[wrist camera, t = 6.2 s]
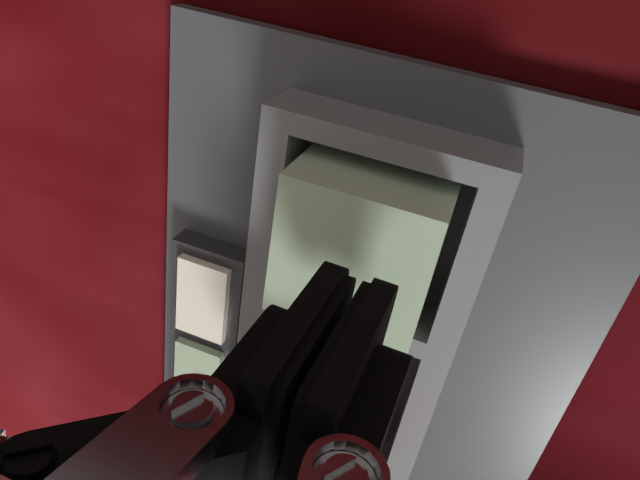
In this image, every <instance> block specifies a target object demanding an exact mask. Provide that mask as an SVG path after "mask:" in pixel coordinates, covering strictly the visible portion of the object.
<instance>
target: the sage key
mask: <svg viewBox="0 0 640 480" xmlns="http://www.w3.org/2000/svg"><path fill="white" fill-rule="evenodd" d="M461 185H462V183H458V182H454V181H451V180H447V179H444V178H440V177H437V176H433V175H429V174H426V173H422V172H419V171H415V170H411V169H408V168H404V167H401V166H397V165H394V164H390V163H386V162H383V161H379V160H376V159H372V158H368V157H365V156H361V155H358V154H354V153H351V152H347V151H343V150H340V149H336V148H333V147H329V146H325V145H322V144H318V143H314V144H312V145H311V146H310V147H309V148H308V149H307V150H306V151H304V152H303V153H302V154H301V155H300V156H299V157H298V158H296V159H295V160H294V161H293V162H292V163H291V164H290V165H288V166H287V167H286V168H285V169H284V170H283V171H282V172H281V173H279V179H278V187H277V195H276V203H275V210H274V218H273V226H272V234H271V241H270V249H269V257H268V265H267V272H266V280H265V288H264V296H263V303H262V309H263V310H265V309H266V308H267V307H268V306H269V305H272V304H274V305H277V306H279V307H282V308H285V309H287V310H288V308H289V307H290V306H291V305H292V303H293V302H294V301H295V299H296V298H297V297H298V295H299V294H300V293H301V291H302V290H303V289H304V287H305V286H306V285H307V283H308V282H309V281H310V279H311V278H312V277H313V275H314V274H315V273H316V271H317V270H318V269H319V267H320V266H321V265H322V263H323V262H324V261H328V262H331V263H334V264H337V265H340V266H343V267H346V268H348V269H349V276H351V277H354V278H356V284H355V289H354V293H353V296H354V294H355V293H356V291H357V289H358V288H359V286H360V284H361V283H362V281H366V282H369V283H371V282H372V280H373V279H374V278H378V279H381V280H384V281H387V282H390V283H392V284H395V285H398V286H399V288H398V292H397V296H396V300H395V303H394V307H393V310H392V314H391V317H390V321H389V324H388V328H387V332H386V335H385V339H384V342H383V345H385V346H388V347H390V348H393V349H396V350H398V351H401V352H404V353H406V354H408V352H409V349H410V346H411V343H412V340H413V336H414V333H415V330H416V327H417V324H418V321H419V318H420V315H421V312H422V309H423V306H424V302H425V299H426V296H427V293H428V290H429V287H430V283H431V280H432V277H433V274H434V271H435V268H436V264H437V261H438V258H439V255H440V252H441V249H442V245H443V242H444V239H445V236H446V233H447V229H448V226H449V223H450V220H451V217H452V214H453V210H454V207H455V204H456V201H457V198H458V195H459V191H460V188H461ZM352 298H353V297H352Z"/></svg>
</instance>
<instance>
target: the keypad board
mask: <svg viewBox="0 0 640 480" xmlns="http://www.w3.org/2000/svg"><path fill="white" fill-rule="evenodd" d="M314 143H318V144H322V145H325V146H329V147H333V148H336V149H340V150H343V151H347V152H351V153H354V154H358V155H361V156H365V157H368V158H372V159H376V160H379V161H383V162H386V163H390V164H394V165H397V166H401V167H404V168H408V169H411V170H415V171H419V172H422V173H426V174H429V175H433V176H437V177H440V178H444V179H447V180H451V181H454V182H458V183H462V185H461V188H460V191H459V195H458V198H457V201H456V204H455V207H454V210H453V214H452V217H451V220H450V223H449V226H448V229H447V233H446V236H445V239H444V242H443V245H442V249H441V252H440V255H439V258H438V261H437V264H436V268H435V271H434V274H433V277H432V280H431V283H430V287H429V290H428V293H427V296H426V299H425V302H424V306H423V309H422V312H421V315H420V318H419V321H418V324H417V327H416V330H415V333H414V336H413V340H412V343H411V346H410V349H409V352H408V354H409V355H412V356H413V358H412V361H411V364H410V367H409V370H408V373H407V377H406V380H405V383H404V386H403V389H402V392H401V395H400V398H399V401H398V404H397V407H396V410H395V413H394V416H393V418H392V421H391V424H390V427H389V430H388V433H387V436H386V438H385V441H384V444H383V447H382V450H381V454H382V455H383V456H384V458H385V459H386V462H387V464H388V467H389V469H390V477H391V480H528V478H529V476H530V474H531V473H532V471H533V469H534V467H535V465H536V463H537V462H538V460H539V458H540V456H541V454H542V452H543V451H544V449H545V447H546V445H547V443H548V441H549V440H550V438H551V436H552V434H553V432H554V430H555V429H556V427H557V425H558V423H559V421H560V419H561V418H562V416H563V414H564V412H565V410H566V408H567V407H568V405H569V403H570V401H571V399H572V397H573V396H574V394H575V392H576V390H577V388H578V386H579V385H580V383H581V381H582V379H583V377H584V375H585V374H586V372H587V370H588V368H589V366H590V364H591V363H592V361H593V359H594V357H595V355H596V353H597V352H598V350H599V348H600V346H601V344H602V342H603V341H604V339H605V337H606V335H607V333H608V331H609V330H610V328H611V326H612V324H613V322H614V320H615V319H616V317H617V315H618V313H619V311H620V309H621V308H622V306H623V304H624V302H625V300H626V298H627V297H628V295H629V293H630V291H631V289H632V287H633V286H634V284H635V282H636V280H637V278H638V276H639V275H640V111H638V110H634V109H630V108H625V107H621V106H617V105H613V104H608V103H604V102H600V101H596V100H591V99H587V98H583V97H579V96H574V95H570V94H566V93H562V92H557V91H553V90H549V89H545V88H540V87H536V86H532V85H528V84H523V83H519V82H515V81H511V80H506V79H502V78H498V77H494V76H489V75H485V74H481V73H477V72H472V71H468V70H464V69H460V68H455V67H451V66H447V65H443V64H438V63H434V62H430V61H426V60H421V59H417V58H413V57H409V56H404V55H400V54H396V53H392V52H387V51H383V50H379V49H375V48H370V47H366V46H362V45H358V44H353V43H349V42H345V41H341V40H336V39H332V38H328V37H324V36H319V35H315V34H311V33H307V32H302V31H298V30H294V29H290V28H285V27H281V26H277V25H273V24H268V23H264V22H260V21H256V20H251V19H247V18H243V17H239V16H234V15H230V14H226V13H222V12H217V11H213V10H209V9H205V8H200V7H196V6H192V5H188V4H183V3H181V4H175V5H171V19H170V77H169V135H168V193H167V251H166V309H165V367H164V382H165V381H167V380H168V379H170V378H172V377H175V376H178V375H182V374H190V373H199V374H205V375H210V376H211V375H212V374H213V373H214V372H215V370H216V369H217V368H218V367H219V365H220V364H221V363H222V362H223V361H224V359H225V358H226V357H227V356H228V354H229V353H230V352H231V351H232V350H233V348H234V347H235V346H236V345H237V344H238V342H239V341H240V340H241V339H242V337H243V336H244V335H245V334H246V333H247V331H248V330H249V329H250V328H251V326H252V325H253V324H254V323H255V322H256V320H257V319H258V318H259V317H260V315H261V314H262V313H263V312H264V311H265V310H263V309H262V303H263V296H264V288H265V280H266V272H267V265H268V257H269V249H270V241H271V234H272V226H273V218H274V210H275V203H276V195H277V187H278V179H279V173H281V172H282V171H283V170H284V169H285V168H286V167H287V166H288V165H290V164H291V163H292V162H293V161H294V160H295V159H296V158H298V157H299V156H300V155H301V154H302V153H303V152H304V151H306V150H307V149H308V148H309V147H310V146H311V145H312V144H314Z"/></svg>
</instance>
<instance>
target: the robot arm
mask: <svg viewBox="0 0 640 480" xmlns="http://www.w3.org/2000/svg"><path fill="white" fill-rule="evenodd" d="M355 284H356V278H354V277H351V276H349V269H348V268H346V267H343V266H340V265H337V264H334V263H331V262H328V261H324V262H323V263H322V265H321V266H320V267H319V269H318V270H317V271H316V273H315V274H314V275H313V277H312V278H311V279H310V281H309V282H308V283H307V285H306V286H305V287H304V289H303V290H302V291H301V293H300V294H299V295H298V297H297V298H296V299H295V301H294V302H293V303H292V305H291V306H290V307H289V308H288V310H287V309H285V308H282V307H279V306H277V305H274V304H272V305H269V306H268V307H267V308H266V309H265V311H264V312H263V313H262V314H261V315H260V317H259V318H258V319H257V320H256V322H255V323H254V324H253V325H252V326H251V328H250V329H249V330H248V331H247V333H246V334H245V335H244V336H243V337H242V339H241V340H240V341H239V342H238V344H237V345H236V346H235V347H234V348H233V350H232V351H231V352H230V353H229V354H228V356H227V357H226V358H225V359H224V361H223V362H222V363H221V364H220V365H219V367H218V368H217V369H216V370H215V372H214V373H213V374H212V375H211V376H210V375H205V374H199V373H190V374H182V375H178V376H175V377H172V378H170V379H168V380H167V381H165V382H163V383H162V384H160V385H159V386H158V387H156V388H155V389H154V390H153V391H152V392H150V393H149V394H148V395H147V396H145V397H144V398H143V399H142V400H140V401H139V402H138V403H137V404H136V405H134V406H133V407H132V408H131V409H129V410H128V411H124V412H119V413H115V414H110V415H105V416H100V417H95V418H90V419H85V420H80V421H75V422H70V423H65V424H60V425H55V426H51V427H46V428H41V429H36V430H31V431H27V432H24V433H21V434H18V435H15V436H13V437H6V434H5V430H3V429H0V480H391V477H390V469H389V467H388V464H387V462H386V459H385V458H384V456H383V455H382V454H381V450H382V447H383V444H384V441H385V438H386V436H387V433H388V430H389V427H390V424H391V421H392V418H393V416H394V413H395V410H396V407H397V404H398V401H399V398H400V395H401V392H402V389H403V386H404V383H405V380H406V377H407V373H408V370H409V367H410V364H411V361H412V358H413V356H412V355H409V354H406V353H404V352H401V351H398V350H396V349H393V348H390V347H388V346H385V345H383V342H384V339H385V335H386V332H387V328H388V324H389V321H390V317H391V314H392V310H393V307H394V303H395V300H396V296H397V292H398V288H399V286H398V285H395V284H392V283H390V282H387V281H384V280H381V279H378V278H374V279H373V280H372V282H371V283H369V282H366V281H362V283H361V284H360V286H359V288H358V289H357V291H356V293H355V294H354V296H353V293H354V289H355ZM352 297H353V298H352Z"/></svg>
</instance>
